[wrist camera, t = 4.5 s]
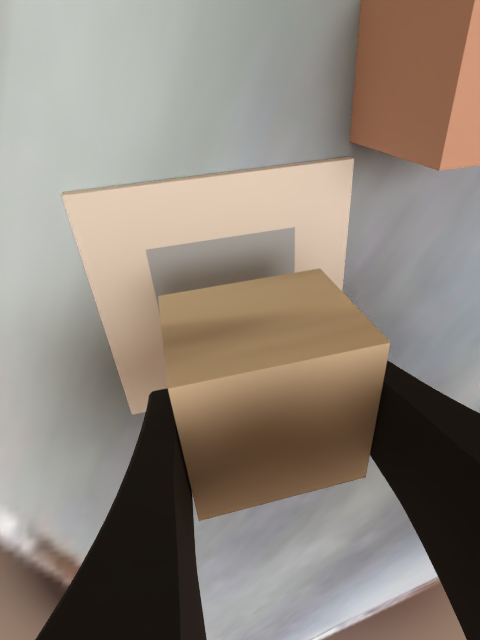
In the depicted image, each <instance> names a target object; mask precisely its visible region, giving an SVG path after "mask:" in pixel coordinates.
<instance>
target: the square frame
mask: <svg viewBox="0 0 480 640" xmlns="http://www.w3.org/2000/svg"><path fill="white" fill-rule="evenodd" d="M353 167H354V158H351V157H342V158H334V159H326V160H318V161H310V162H302V163H294V164H286V165H278V166H270V167H262V168H254V169H246V170H239V171H231V172H223V173H215V174H207V175H199V176H191V177H183V178H175V179H167V180H159V181H151V182H143V183H135V184H127V185H119V186H111V187H103V188H95V189H87V190H79V191H71V192H63V194H62V195H61V196H62V199H63V202H64V206H65V209H66V212H67V215H68V218H69V221H70V224H71V227H72V230H73V233H74V237H75V240H76V243H77V246H78V249H79V252H80V255H81V258H82V261H83V264H84V268H85V271H86V274H87V277H88V280H89V283H90V286H91V289H92V292H93V295H94V299H95V302H96V305H97V308H98V311H99V314H100V317H101V320H102V323H103V327H104V330H105V333H106V336H107V339H108V342H109V345H110V348H111V351H112V354H113V358H114V361H115V364H116V367H117V370H118V373H119V376H120V379H121V382H122V385H123V389H124V392H125V395H126V398H127V401H128V404H129V407H130V410H131V413H132V415H133V414H138V413H143V412H146V409H147V404H148V398H149V395H150V393H151V392H152V391H156V390H161V389H166V388H168V386H167V376H166V367H165V357H164V348H163V338H162V329H161V319H160V310H159V300H158V296H161V295H167V294H173V293H179V292H184V291H190V290H196V289H202V288H208V287H214V286H220V285H225V284H231V283H237V282H243V281H249V280H255V279H261V278H266V277H272V276H278V275H284V274H290V273H296V272H302V271H307V270H313V269H319V268H320V269H321V270H322V271H323V272H324V273H325V274H326V275H327V276H328V277H329V278H330V279H331V280H332V281H333V282H334V284H335V285H336V286H337V287H338V288H339V289H340V290H341V291H342V290H343V278H344V267H345V256H346V245H347V234H348V223H349V211H350V200H351V189H352V178H353Z"/></svg>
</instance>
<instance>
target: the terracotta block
mask: <svg viewBox="0 0 480 640" xmlns="http://www.w3.org/2000/svg"><path fill="white" fill-rule="evenodd" d="M350 142H353V143H356V144H359V145H362V146H365V147H368V148H371V149H374V150H377V151H380V152H384V153H387V154H390V155H393V156H396V157H399V158H402V159H405V160H408V161H411V162H414V163H417V164H421V165H424V166H427V167H430V168H433V169H436V170H439V171H440V170H447V169H455V168H462V167H469V166H477V165H480V0H361V9H360V21H359V34H358V46H357V58H356V70H355V83H354V95H353V107H352V119H351V132H350Z"/></svg>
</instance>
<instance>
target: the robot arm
mask: <svg viewBox="0 0 480 640" xmlns="http://www.w3.org/2000/svg"><path fill="white" fill-rule="evenodd" d="M370 455H371V457H372V459H373V460H374V462H375V463H376V465H377V466H378V468H379V469H380V471H381V473H382V474H383V476H384V477H385V479H386V480H387V482H388V484H389V485H390V487H391V488H392V490H393V491H394V493H395V494H396V496H397V498H398V499H399V501H400V503H401V504H402V506H403V508H404V510H405V511H406V513H407V515H408V517H409V519H410V521H411V523H412V525H413V527H414V529H415V531H416V533H417V534H418V536H419V538H420V540H421V542H422V544H423V546H424V548H425V550H426V552H427V554H428V556H429V559H430V561H431V563H432V565H433V567H434V569H435V571H436V573H437V575H438V577H439V579H440V581H441V583H442V585H443V588H444V590H445V592H446V594H447V596H448V598H449V600H450V603H451V605H452V607H453V610H454V612H455V614H456V616H457V618H458V620H459V622H460V625H461V627H462V629H463V632H464V634H465V637H466V639H467V640H480V413H478V412H476V411H474V410H472V409H470V408H468V407H466V406H464V405H462V404H461V403H459V402H457V401H455V400H453V399H451V398H449V397H448V396H446V395H444V394H442V393H440V392H439V391H437V390H435V389H433V388H432V387H430V386H428V385H427V384H425V383H423V382H422V381H420V380H418V379H417V378H415V377H413V376H412V375H410V374H408V373H407V372H405V371H404V370H402V369H400V368H399V367H397V366H396V365H394V364H392V363H391V362H389V361H388V360H387V364H386V370H385V375H384V381H383V386H382V391H381V397H380V402H379V408H378V413H377V418H376V424H375V429H374V435H373V440H372V446H371V451H370ZM36 640H206V633H205V625H204V618H203V611H202V604H201V597H200V590H199V582H198V575H197V566H196V555H195V539H194V521H193V502H192V489H191V485H190V481H189V476H188V472H187V468H186V464H185V460H184V455H183V451H182V447H181V443H180V438H179V434H178V430H177V426H176V421H175V417H174V413H173V409H172V405H171V400H170V396H169V392H168V388H166V389H161V390H156V391H152V392H151V393H150V395H149V398H148V404H147V409H146V413H145V417H144V421H143V425H142V428H141V432H140V435H139V438H138V441H137V444H136V447H135V450H134V453H133V456H132V458H131V461H130V464H129V466H128V469H127V471H126V474H125V476H124V479H123V481H122V484H121V486H120V489H119V491H118V493H117V496H116V498H115V500H114V502H113V504H112V507H111V509H110V511H109V513H108V515H107V517H106V519H105V521H104V523H103V525H102V527H101V529H100V531H99V533H98V535H97V537H96V539H95V541H94V543H93V545H92V546H91V548H90V550H89V552H88V554H87V556H86V557H85V559H84V561H83V563H82V565H81V567H80V568H79V570H78V572H77V574H76V575H75V577H74V579H73V580H72V582H71V584H70V586H69V587H68V589H67V590H66V592H65V594H64V595H63V597H62V598H61V600H60V602H59V603H58V605H57V606H56V608H55V610H54V611H53V613H52V614H51V616H50V618H49V619H48V621H47V622H46V624H45V626H44V627H43V629H42V630H41V632H40V633H39V635H38V637H37V638H36Z"/></svg>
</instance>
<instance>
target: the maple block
mask: <svg viewBox="0 0 480 640" xmlns="http://www.w3.org/2000/svg"><path fill="white" fill-rule="evenodd" d="M158 300H159V310H160V319H161V329H162V338H163V348H164V357H165V367H166V376H167V386H168V392H169V396H170V400H171V405H172V409H173V413H174V417H175V421H176V426H177V430H178V434H179V438H180V443H181V447H182V451H183V455H184V460H185V464H186V468H187V472H188V476H189V481H190V485H191V489H192V493H193V498H194V502H195V506H196V510H197V515H198V519H199V521H201V520H204V519H208V518H212V517H216V516H220V515H223V514H227V513H231V512H235V511H239V510H243V509H246V508H250V507H254V506H258V505H262V504H265V503H269V502H273V501H277V500H281V499H284V498H288V497H292V496H296V495H300V494H304V493H307V492H311V491H315V490H319V489H323V488H326V487H330V486H334V485H338V484H342V483H345V482H349V481H353V480H357V479H361V478H365V477H366V473H367V467H368V462H369V456H370V451H371V446H372V440H373V435H374V429H375V424H376V418H377V413H378V408H379V402H380V397H381V391H382V386H383V381H384V375H385V370H386V364H387V359H388V353H389V348H390V342H389V341H388V339H387V338H386V337H385V336H384V335H383V334H382V333H381V332H380V331H379V330H378V329H377V328H376V327H375V326H374V325H373V324H372V323H371V322H370V320H369V319H368V318H367V317H366V316H365V315H364V314H363V313H362V312H361V311H360V310H359V309H358V308H357V307H356V306H355V305H354V304H353V303H352V301H351V300H350V299H349V298H348V297H347V296H346V295H345V294H344V293H343V292H342V291H341V290H340V289H339V288H338V287H337V286H336V285H335V284H334V282H333V281H332V280H331V279H330V278H329V277H328V276H327V275H326V274H325V273H324V272H323V271H322V270H321V269H320V268H319V269H313V270H307V271H302V272H296V273H290V274H284V275H278V276H272V277H266V278H261V279H255V280H249V281H243V282H237V283H231V284H225V285H220V286H214V287H208V288H202V289H196V290H190V291H184V292H179V293H173V294H167V295H161V296H158Z"/></svg>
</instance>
